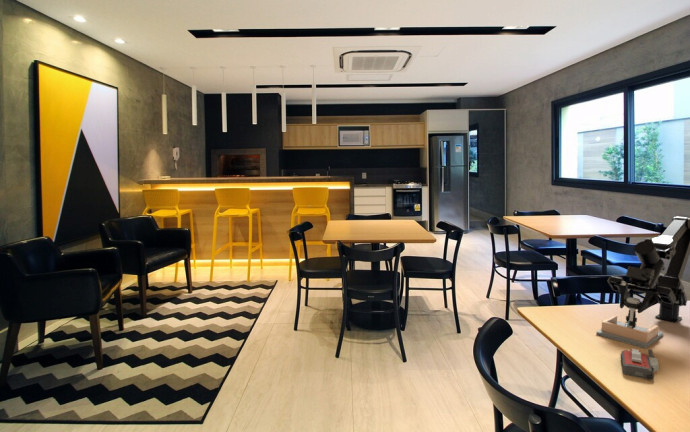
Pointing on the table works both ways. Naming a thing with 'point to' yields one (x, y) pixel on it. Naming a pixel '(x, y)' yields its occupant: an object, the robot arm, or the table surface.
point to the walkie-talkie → (639, 364)
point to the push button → (632, 311)
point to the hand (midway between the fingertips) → (629, 310)
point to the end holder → (629, 333)
